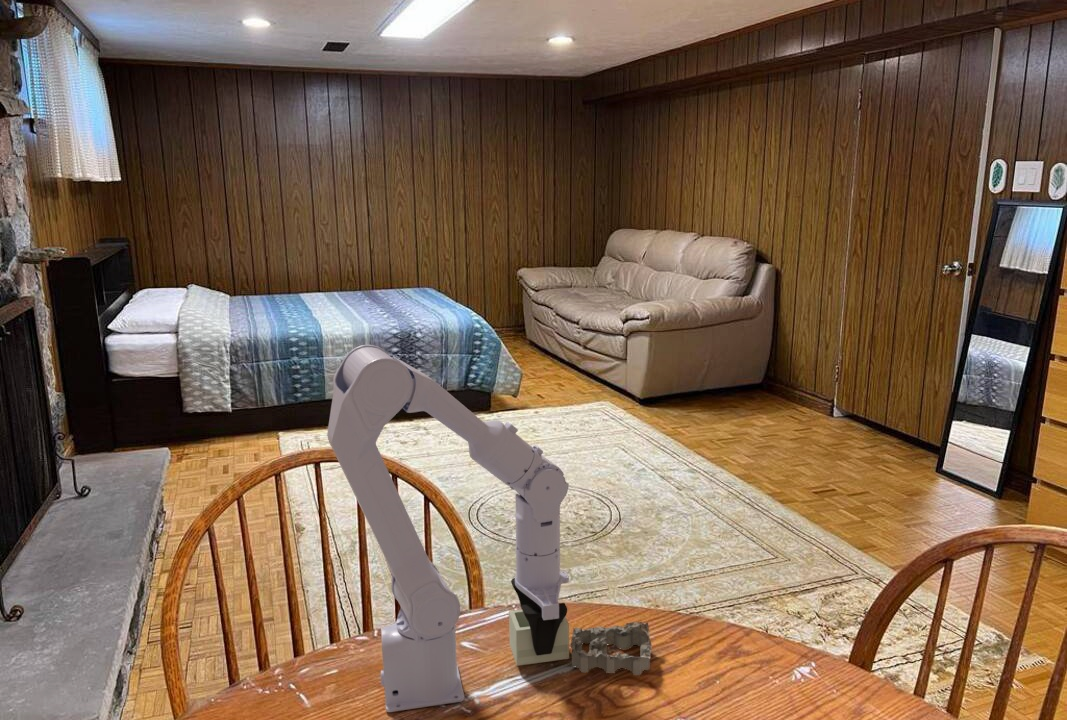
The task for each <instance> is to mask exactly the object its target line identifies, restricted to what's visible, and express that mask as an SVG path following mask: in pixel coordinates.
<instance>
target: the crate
mask: <svg viewBox="0 0 1067 720" xmlns="http://www.w3.org/2000/svg"><path fill="white" fill-rule="evenodd" d="M508 619H509V620H508V621H509V623H508V625H509V627H508V628H509V631H508V632H509V633H508V634H509V639H508V640H509V647H510V650H511V652H512V656H513V659H514V661H515V662H514V663H515V665H516V666H518V667H519V666H524V665H525V666H526V665H532V664H538V663H546V662H554V661H561V660H568V659H570V623H569V621H568V619H567V616H565V617H564V619H563V620H562V622H561V624H560V626H559V628H558V631H557V635H556V638H555V643H554V647H553V650H552V653H551V654H545V655H538V656H537V655H536V653H535V650H534V647H533V642H532V635H531V630H530V626H529V622H528V621H527V619H526V617H525V615H524V613H523V610H522V609H521V608H520V609H515V610H509V611H508Z"/></svg>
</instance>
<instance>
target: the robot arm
mask: <svg viewBox="0 0 1067 720" xmlns="http://www.w3.org/2000/svg"><path fill="white" fill-rule="evenodd" d="M332 378H333V380H332V381H333V382H332V383H333V385H332V387H333V390H332V391H333V393H332V398H331V399H332V400H331V406H330V413H329V420H328V428H327V433H326V435H327V436H326V437H327V439H328V443H329V444H330V447H331V449H332V451H333V453H334V455H335V457H336V459H337V462H338V463H339V465H340V468H341V470H342V471H343V474H344V475H345V478H346V481H347V482H348V484H349V486H350V489H351V490H352V493H353V495H354V496H355V498H356V501H357V503H358V505H359V507H360V509H361V511H362V514H363V515H364V518H365V519H366V521H367V524H368V526H369V527H370V529H371V532H372V535H374V538H375V540H376V542H377V544H378V546H379V548H380V550H381V553H382V555H383V557H384V559H385V561H386V564H387V567H388V569H389V572H390V573H391V583H390V584H391V585H390V586H391V592H392V593H391V594H392V595H393V597H394V598H395V600H397V602H398V604H399V606H400V609H399V611H398V614H397V618H396V621H395V622H393V623H391V624H387V625H386V626H382V627H380V632H381V633H380V634H381V650H382V655H381V656H382V667H383V670H382V669H381V670H380V682H381V684H380V685H381V687H384V702H385V703H384V704H385V712H387V713H393V712H401V711H405V710H413V709H420V708H426V707H433V706H441V705H446V704H455V703H460V702H463V701H464V700H465V693H464V687H463V685H462V680H461V676H460V671H459V667H458V666H459V665H458V660H457V659H458V658H457V632H456V625H457V623H458V621H459V619H460V616H461V604H460V599H459V598H458V597H457V595H456V594H455V593H454V592H453V591H452V590H451V589H450V587H449V586H448V585H447V582H445V580H444V579H443V576H442V575H441V573H440V572H439V570H438V568H437V566H436V565H435V563H433V562H432V561H431V560H430V558H429V556H428V555H427V553H426V550H425V548H424V546H423V543H422V541H421V540H420V537H419V536H418V532H417V531H416V529H415V526H414V524H413V521H412V519H411V517H410V516H409V513H408V510H407V508H406V506H405V504H404V502H403V500H402V498H401V496H400V494H399V492H398V490H397V487H396V485H395V483H394V481H393V479H392V476H391V474H390V472H389V470H388V468H387V465H386V464H385V461H384V459H383V457H382V455H381V452H380V450H379V448H378V446H377V441H378V438H379V437H380V435H381V433H382V431H383V430H384V427H385V426H386V425H387V424H388V423H389V422H390V421H391V420H392V419H393V418H394V417H395V416H396V414H398V413H399V412H400V411H401V410H402V409H403V410H404V411H405V412H406V413H409V414H411V413H418V412H425V413H427V414H428V415H430V416H431V417H432V418H434V419H435V420H437V421H438V422H440V423H441V424H442V425H443V426H445V427H447V428H448V429H450V430H451V431H452V432H453V433H455V434H456V435H458V436H459V437H460V438H462V439H463V440H465V441H466V442H467V443H468V454H469V456H470V459H471V460H473V461H474V462H475V463H477V464H478V465H479V466H481V467H482V468H483V469H484V470H486V471H487V472H489V473H490V474H492V476H494V477H495V478H497V479H498V480H499V481H500V482H502V483H503V484H504V485H506V486H508V487H509V488H510V489H511V490H514V491H515V492H516V494H515V513H514V514H515V568H516V569H515V576H514V577H513V578H512V579H511V581H510V583H511V585H512V588H513V589H514V591H515V593H516V594H517V598H518V601H519V603H520V604H519V605H520V610H521V609H522V610H523V613H524V615H525V617H526V619H527V621H528V622H529V626H530V630H531V635H532V642H533V647H534V650H535V653H536V655H537V656H538V655H545V654H551V653H552V650H553V647H554V643H555V638H556V635H557V631H558V628H559V626H560V624H561V622H562V620H563V619H564V617H567V614H568V606H567V605H566V603H565V602H560V603H559V596H560V592H561V587H562V585H563V584H567V583H569V582H570V576H569V575H568V573H567V572H566V571H564V570H563V571H561V529H560V528H561V504H562V503H563V501H564V499H566V496H567V494H568V491H569V485H570V484H569V483H568V482H567V481H566V477H565V476H564V475H565V474H564V471H563V470H562V469H561V468H560V467H558V466H557V465H556V464H554V463H553V462H552V461H550V460H549V459H548V458H546V457H545V456H543V454H544V451H543V450H542V448H540V447H539V446H537V445H536V444H535V445H533V446H532V445H530V444H529V443H528V442H527V441H526V440H524V439H523V437H522V438H521V437H520V436H519V435H518V434H517V433H518V430H519V429H518V428H517V427H515V426H514V425H513V424H512V423H510V422H509V421H506V422H505V423H503V422H502V421H500V420H489V421H483V420H481V419H480V417H478V416H477V415H476V414H475V413H473V412H472V410H470V409H468V408H467V407H466V406H465V405H464V404H462V402H460V401H459V400H458V399H457V398H455V397H454V396H453V395H452V394H451V393H450V392H448V390H446V389H445V388H444V387H442V386H441V385H440V384H439V383H438V382H437V381H435V380H433V379H432V378H431V377H430V376H429V375H427V374H426V373H424V372H422V371H420V370H418V369H417V368H415V367H413V366H412V365H409V364H408V363H406V362H405V361H403V360H401V359H399V358H397V357H394V358H393V357H391V356H390V354H389V353H388V352H387V350H385V349H383V348H381V347H380V346H377V345H374V344H362V345H359V346H356V347H354V348H353V349H351V350H349V352H348V353H347V354H346V355H345V357H344V358H343V360H342V361H341V363H340V365H339V367H338V368H337V370H336V371H335V374H334V375H333V377H332Z"/></svg>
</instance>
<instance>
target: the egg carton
mask: <svg viewBox="0 0 1067 720" xmlns="http://www.w3.org/2000/svg"><path fill="white" fill-rule="evenodd" d="M582 643H585V644H588V643H590V644H589V645H588V646H589V651H588V652H586V650H585V649H583V644H582ZM607 644H615V645H616V646H617V647H618V648H621V649H627V650H629V649H628V648H630V647H631V646H632V645H638V646H637V647H639V646H640V652H639V655H640V656H634V655H630V654H629V653H626V652H625V653H621V651H618V652H617V653H615V656H614V655H611V654H609V653H608V645H607ZM615 645H614V646H615ZM616 646H615V647H616ZM617 647H616V648H617ZM632 647H633V646H632ZM632 647H631V648H632ZM569 648H571V667H573V666H576V667H575V668H577V669H578V668H579V669H578V670H579V672H580V671H581V672H580V673H586V672H587V673H589V671H590V670H592V669H594V668H593V667H599V668H598V669H601V668H603V669H604V672H605V674H607V673H614V674H615V673H616V672H617V671H618V670H617V669H619V668H626V669H628V670H627V671H629V670H631V671H632V672H631V671H630V672H631V673H633V674H634V675H633V674H632V675H633V676H641V675H642V673H643V672H642V671H644V670H647V671H649V670H650V665H651V661H650V659H651V653H652V652H651V650H652V643H651V639H650V626H649V623H648V622H642V621H637V622H635V621H632V622H626V623H625V625H624V626H621V625H620V626H619V625H614V626H611V627H610V626H609V627H603V626H597V627H591V628H590V627H589V628H585V629H583V628H582V627H581V628H579V627H573V631H572V637H571V641H570V645H569ZM618 648H617V649H618ZM631 648H630V649H631ZM621 649H620V650H621ZM591 668H592V669H591ZM589 669H590V670H589ZM603 669H602V670H603ZM626 669H625V670H626ZM648 669H649V670H648ZM616 670H617V671H616ZM615 671H616V672H615ZM644 672H645V671H644ZM640 674H641V675H640Z"/></svg>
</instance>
